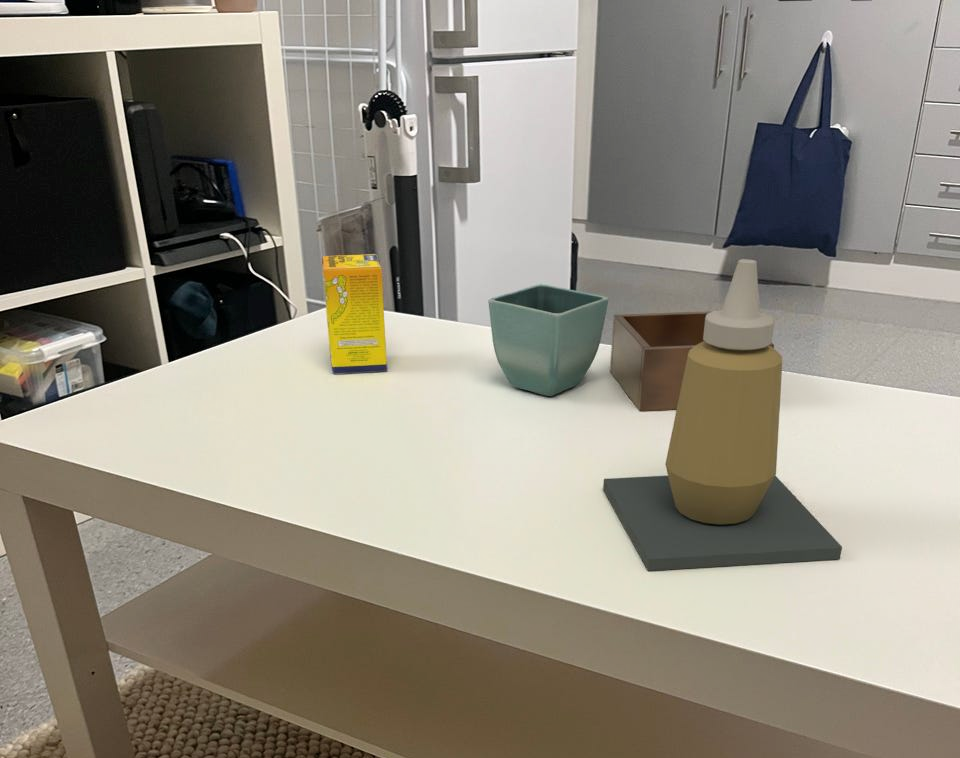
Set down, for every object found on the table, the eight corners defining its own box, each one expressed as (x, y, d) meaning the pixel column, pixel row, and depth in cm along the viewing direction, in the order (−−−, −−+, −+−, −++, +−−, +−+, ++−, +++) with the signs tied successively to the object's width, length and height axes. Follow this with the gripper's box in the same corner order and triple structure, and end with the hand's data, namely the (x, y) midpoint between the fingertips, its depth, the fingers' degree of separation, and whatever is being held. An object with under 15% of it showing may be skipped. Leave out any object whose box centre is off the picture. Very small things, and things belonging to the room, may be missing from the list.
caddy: (723, 366, 110) (730, 310, 106) (765, 405, 99) (774, 344, 96) (609, 371, 108) (613, 314, 105) (639, 411, 98) (645, 349, 95)
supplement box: (329, 358, 112) (320, 255, 107) (383, 355, 113) (377, 253, 107) (331, 375, 108) (322, 267, 102) (387, 372, 108) (382, 265, 102)
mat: (768, 481, 84) (770, 469, 83) (840, 559, 72) (842, 546, 71) (602, 489, 82) (603, 478, 82) (647, 571, 70) (649, 558, 70)
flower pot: (605, 385, 104) (611, 295, 100) (555, 407, 99) (559, 314, 94) (537, 368, 109) (539, 282, 104) (485, 389, 103) (485, 299, 99)
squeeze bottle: (647, 521, 75) (670, 268, 65) (676, 481, 81) (702, 244, 71) (756, 542, 72) (798, 280, 62) (779, 499, 78) (820, 254, 68)
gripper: (760, -319, 79) (729, 1, 91) (925, -433, 58) (857, 1, 70) (851, -317, 80) (808, 0, 92) (1045, -429, 59) (959, -1, 71)
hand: (829, 1), depth 81 cm, fingers open, 13 cm apart
